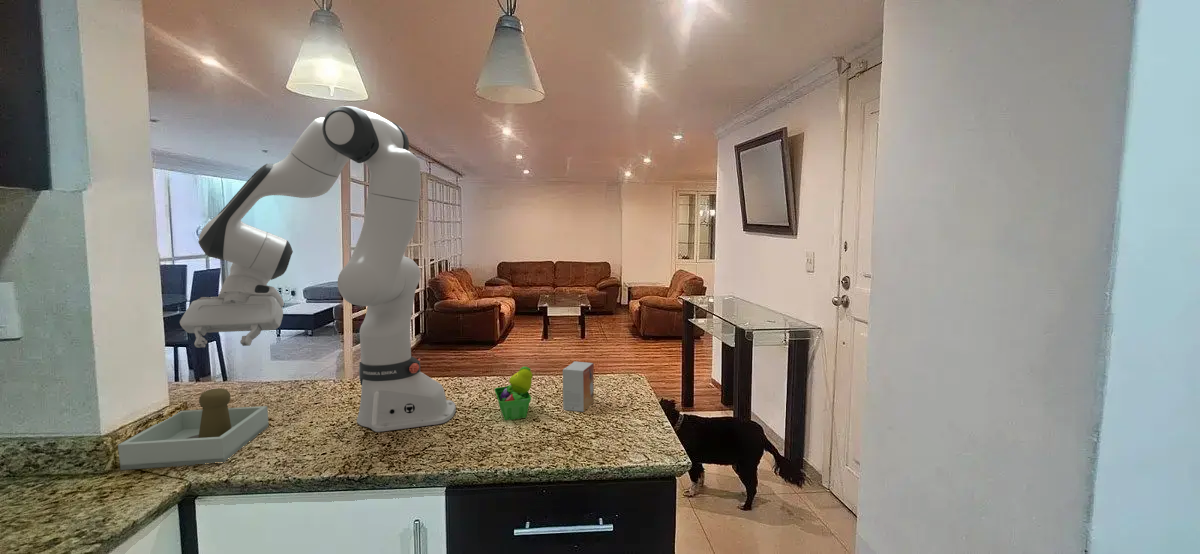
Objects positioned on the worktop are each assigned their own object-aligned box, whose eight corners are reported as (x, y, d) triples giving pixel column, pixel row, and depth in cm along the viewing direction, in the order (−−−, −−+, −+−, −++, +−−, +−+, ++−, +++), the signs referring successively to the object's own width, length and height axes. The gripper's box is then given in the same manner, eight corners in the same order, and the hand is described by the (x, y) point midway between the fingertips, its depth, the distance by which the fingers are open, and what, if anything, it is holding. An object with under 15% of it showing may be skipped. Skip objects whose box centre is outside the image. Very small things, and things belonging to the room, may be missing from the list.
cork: (213, 449, 104) (213, 398, 103) (189, 444, 105) (188, 393, 104) (240, 437, 110) (240, 388, 108) (217, 431, 111) (216, 383, 110)
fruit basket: (494, 407, 130) (493, 363, 129) (528, 403, 133) (528, 360, 132) (499, 423, 120) (498, 376, 119) (537, 418, 122) (536, 372, 121)
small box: (583, 412, 126) (583, 371, 125) (562, 410, 128) (562, 369, 127) (594, 402, 134) (594, 362, 133) (574, 399, 135) (574, 360, 134)
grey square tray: (268, 427, 118) (267, 406, 118) (224, 463, 100) (222, 438, 100) (182, 432, 115) (180, 410, 115) (120, 470, 98) (117, 444, 97)
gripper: (187, 289, 121) (163, 339, 112) (281, 287, 124) (264, 336, 115) (200, 305, 125) (178, 354, 117) (291, 302, 129) (275, 350, 120)
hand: (222, 345), depth 116 cm, fingers open, 8 cm apart
